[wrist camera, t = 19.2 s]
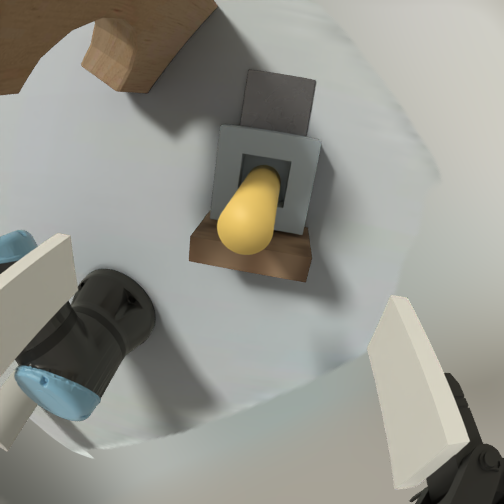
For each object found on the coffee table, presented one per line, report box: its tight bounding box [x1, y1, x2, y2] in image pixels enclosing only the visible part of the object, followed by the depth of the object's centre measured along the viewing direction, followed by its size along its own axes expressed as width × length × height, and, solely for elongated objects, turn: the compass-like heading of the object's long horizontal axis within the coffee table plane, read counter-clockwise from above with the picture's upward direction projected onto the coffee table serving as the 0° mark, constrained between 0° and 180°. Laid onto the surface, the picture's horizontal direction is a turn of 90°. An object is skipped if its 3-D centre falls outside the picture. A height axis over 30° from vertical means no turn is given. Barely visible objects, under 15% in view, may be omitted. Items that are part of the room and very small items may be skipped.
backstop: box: [189, 210, 312, 282], centre depth 37 cm, size 13×3×9 cm, turn 82°
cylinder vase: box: [0, 370, 38, 452], centre depth 60 cm, size 12×12×25 cm
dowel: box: [217, 165, 281, 255], centre depth 29 cm, size 4×4×16 cm
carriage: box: [210, 124, 322, 235], centre depth 36 cm, size 11×11×4 cm
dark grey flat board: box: [240, 70, 315, 137], centre depth 36 cm, size 8×19×1 cm, turn 172°
